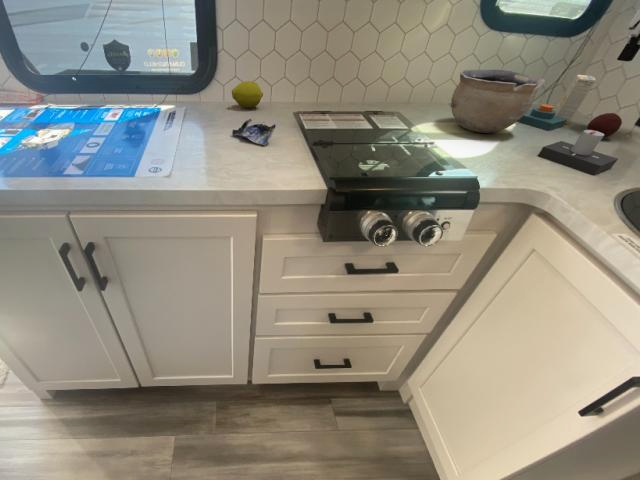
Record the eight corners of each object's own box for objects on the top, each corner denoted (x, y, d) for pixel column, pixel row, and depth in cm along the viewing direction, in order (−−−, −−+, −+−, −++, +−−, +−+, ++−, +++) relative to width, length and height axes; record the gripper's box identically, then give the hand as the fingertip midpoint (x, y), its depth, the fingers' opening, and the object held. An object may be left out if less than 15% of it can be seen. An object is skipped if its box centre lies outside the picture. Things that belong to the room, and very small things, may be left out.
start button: (552, 112, 115) (555, 106, 114) (546, 113, 114) (550, 107, 112) (541, 109, 117) (544, 103, 116) (535, 110, 116) (539, 104, 115)
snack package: (234, 147, 94) (276, 146, 95) (233, 121, 91) (277, 120, 91) (231, 139, 104) (269, 138, 105) (231, 115, 100) (270, 114, 101)
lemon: (261, 105, 123) (263, 79, 117) (263, 111, 117) (265, 84, 112) (231, 104, 123) (231, 78, 117) (231, 110, 117) (231, 83, 111)
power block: (563, 126, 116) (571, 113, 113) (547, 130, 112) (556, 117, 110) (527, 116, 123) (534, 103, 121) (511, 119, 120) (518, 107, 117)
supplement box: (568, 124, 117) (597, 80, 108) (551, 121, 119) (578, 78, 110) (567, 118, 123) (594, 75, 113) (551, 116, 124) (577, 73, 115)
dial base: (611, 167, 92) (619, 158, 90) (593, 175, 88) (601, 165, 86) (555, 149, 100) (561, 140, 98) (537, 155, 96) (543, 146, 95)
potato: (601, 133, 112) (618, 109, 107) (615, 142, 106) (634, 118, 101) (576, 130, 113) (592, 107, 108) (588, 139, 107) (606, 115, 102)
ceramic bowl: (481, 144, 101) (510, 86, 91) (425, 121, 115) (445, 68, 105) (529, 136, 108) (562, 80, 98) (471, 115, 122) (495, 64, 112)
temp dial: (574, 148, 95) (589, 127, 91) (593, 153, 92) (608, 132, 88) (567, 150, 93) (581, 130, 89) (585, 156, 90) (601, 135, 86)
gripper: (670, -24, 95) (619, 56, 108) (649, -25, 89) (598, 60, 102) (707, -24, 91) (649, 60, 103) (687, -24, 85) (628, 64, 97)
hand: (623, 60), depth 103 cm, fingers closed
